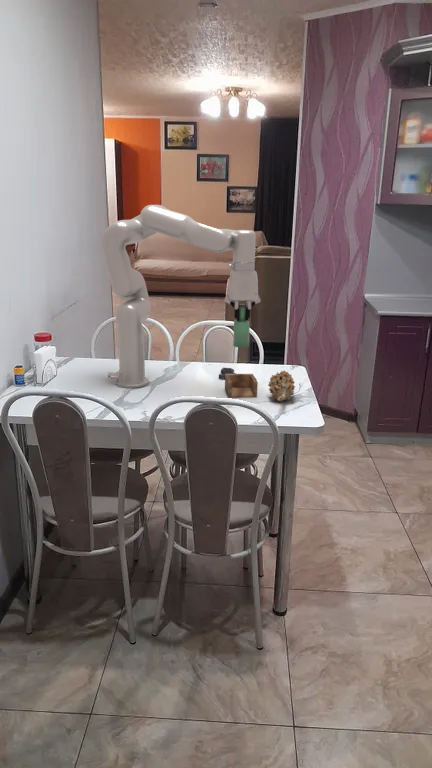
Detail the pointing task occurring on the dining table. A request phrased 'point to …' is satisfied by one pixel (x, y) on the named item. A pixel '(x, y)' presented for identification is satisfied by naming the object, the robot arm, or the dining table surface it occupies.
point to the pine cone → (282, 386)
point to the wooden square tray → (241, 385)
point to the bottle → (241, 329)
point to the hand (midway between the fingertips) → (241, 319)
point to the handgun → (226, 372)
